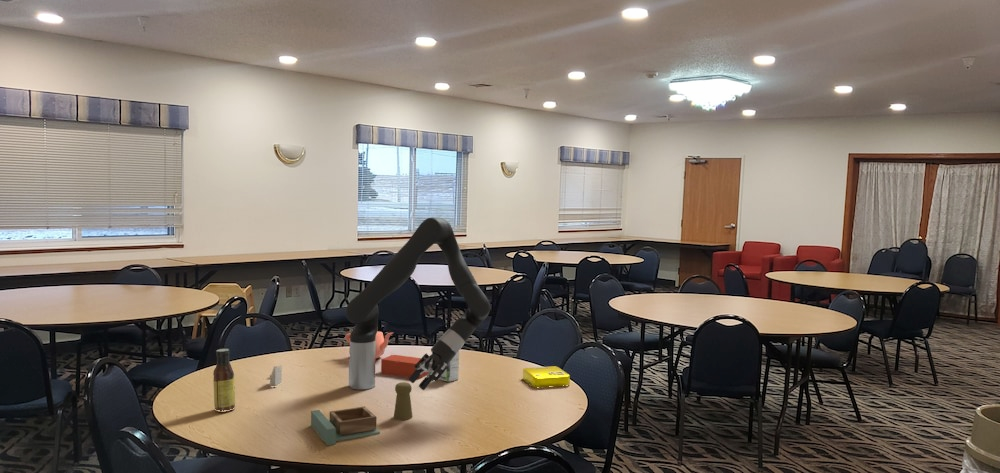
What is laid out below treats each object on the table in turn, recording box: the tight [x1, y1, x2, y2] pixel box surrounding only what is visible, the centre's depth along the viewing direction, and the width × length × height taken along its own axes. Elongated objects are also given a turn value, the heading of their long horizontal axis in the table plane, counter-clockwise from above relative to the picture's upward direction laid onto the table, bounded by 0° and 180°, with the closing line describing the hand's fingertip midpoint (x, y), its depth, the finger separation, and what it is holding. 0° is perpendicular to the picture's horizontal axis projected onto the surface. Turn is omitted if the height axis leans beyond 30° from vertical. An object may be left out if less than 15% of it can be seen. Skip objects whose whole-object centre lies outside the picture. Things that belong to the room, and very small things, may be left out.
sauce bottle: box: [212, 348, 236, 411], centre depth 210 cm, size 6×6×20 cm
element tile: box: [522, 365, 571, 389], centre depth 250 cm, size 15×15×5 cm
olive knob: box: [393, 381, 413, 421], centre depth 207 cm, size 6×6×11 cm
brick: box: [380, 354, 428, 380], centre depth 258 cm, size 18×9×6 cm, turn 67°
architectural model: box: [265, 364, 283, 387], centre depth 239 cm, size 3×7×7 cm, turn 176°
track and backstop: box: [310, 409, 381, 446], centre depth 194 cm, size 18×16×5 cm
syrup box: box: [438, 350, 460, 383], centre depth 251 cm, size 6×6×14 cm
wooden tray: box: [329, 406, 378, 436], centre depth 195 cm, size 11×11×4 cm
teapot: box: [344, 331, 394, 359], centre depth 280 cm, size 17×16×13 cm
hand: (415, 384), depth 209 cm, fingers open, 8 cm apart
